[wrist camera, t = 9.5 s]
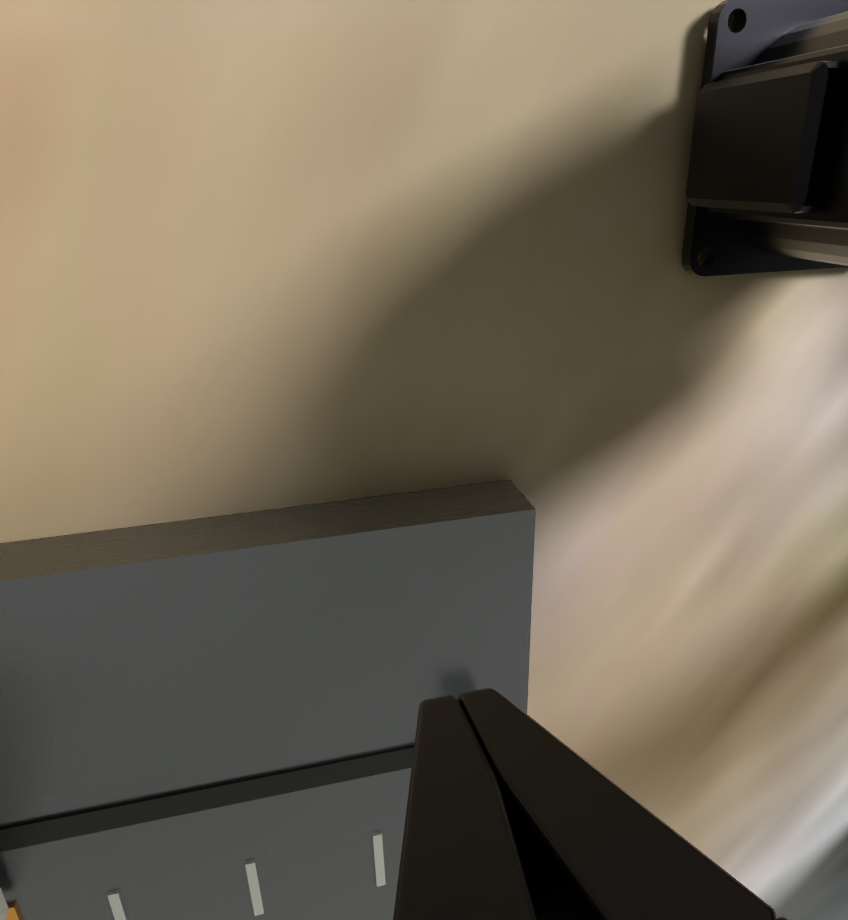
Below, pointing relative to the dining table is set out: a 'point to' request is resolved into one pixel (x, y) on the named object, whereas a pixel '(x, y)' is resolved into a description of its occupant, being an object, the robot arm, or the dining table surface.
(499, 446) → the dining table surface
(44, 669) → the console
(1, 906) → the fader
